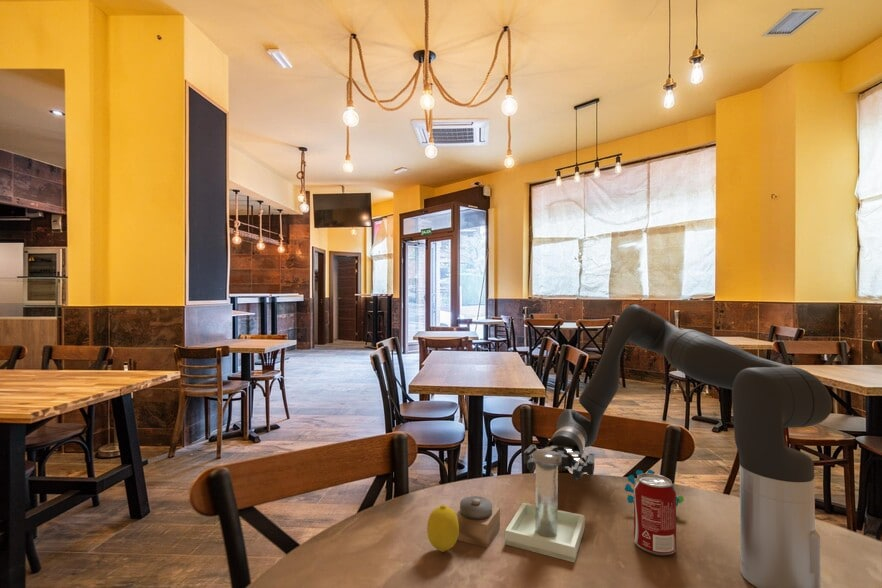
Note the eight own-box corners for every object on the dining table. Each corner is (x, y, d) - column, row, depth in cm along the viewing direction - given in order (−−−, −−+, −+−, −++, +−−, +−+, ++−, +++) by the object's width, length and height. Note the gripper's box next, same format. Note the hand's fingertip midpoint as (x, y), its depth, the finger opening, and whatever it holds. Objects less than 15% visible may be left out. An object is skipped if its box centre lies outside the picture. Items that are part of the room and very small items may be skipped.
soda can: (681, 561, 72) (681, 489, 72) (638, 556, 74) (638, 485, 74) (669, 539, 79) (668, 473, 79) (629, 535, 80) (629, 470, 80)
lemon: (437, 539, 78) (437, 495, 78) (464, 548, 75) (464, 502, 76) (420, 554, 74) (421, 507, 74) (448, 565, 71) (449, 516, 71)
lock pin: (563, 528, 81) (563, 452, 81) (557, 542, 76) (558, 461, 76) (535, 521, 83) (536, 448, 83) (528, 534, 78) (529, 456, 79)
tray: (584, 528, 82) (584, 515, 82) (574, 562, 72) (574, 547, 72) (523, 514, 88) (523, 502, 88) (505, 544, 77) (505, 530, 77)
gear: (624, 509, 87) (626, 462, 93) (620, 519, 91) (622, 474, 97) (685, 526, 83) (683, 476, 90) (678, 536, 87) (677, 488, 94)
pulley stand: (499, 529, 82) (499, 496, 82) (487, 547, 76) (487, 512, 76) (465, 520, 85) (466, 489, 85) (451, 538, 79) (451, 504, 79)
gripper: (536, 426, 103) (517, 446, 89) (599, 434, 97) (590, 458, 82) (536, 457, 103) (517, 483, 88) (599, 467, 97) (590, 497, 82)
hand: (552, 471), depth 85 cm, fingers open, 8 cm apart
